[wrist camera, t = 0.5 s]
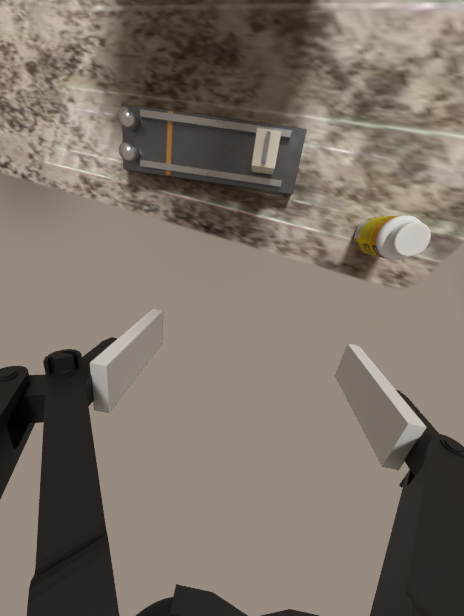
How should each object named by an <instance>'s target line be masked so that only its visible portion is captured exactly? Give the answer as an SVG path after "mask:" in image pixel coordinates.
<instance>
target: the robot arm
mask: <svg viewBox="0 0 464 616" xmlns="http://www.w3.org/2000/svg"><path fill="white" fill-rule="evenodd" d="M162 329H163V310H159V309H152V310H150V311H149V312H148V313H147V314H146V315H145V316H144V317H142V318H141V319H140V320H139V321H138V322H137V323H135V324H134V325H133V326H132V327H131V328H130V329H128V330H127V331H126V332H125V333H124V334H123V335H121V336H120V337H119V338H118V339H117V338H109V339H107V340H104V341H102V342H101V343H100V344H99V345H97V346H96V347H95V348H94V349H92V350H91V351H90V352H88V353H87V354H86V355H85V356H83V357H82V356H81V353H80V352H79V351H77V350H72V349H67V350H61V351H56V352H54V353H52V354H50V355H48V356H47V357H45V359H44V361H43V362H44V368H45V373H46V375H29V374H28V370H27V368H26V367H23V366H11V367H5V368H1V369H0V499H1V496H2V494H3V492H4V490H5V488H6V485H7V483H8V481H9V479H10V477H11V475H12V473H13V470H14V468H15V466H16V464H17V462H18V459H19V457H20V455H21V453H22V451H23V448H24V446H25V444H26V442H27V440H28V438H29V435H30V433H31V431H32V429H33V427H34V424H35V423H39V422H44V428H43V429H44V430H43V446H42V465H41V482H40V500H39V501H40V502H39V517H38V536H37V553H36V569H35V574H34V577H33V578H32V580H31V584H30V588H29V597H28V607H27V616H119V611H118V604H117V597H116V590H115V583H114V577H113V569H112V562H111V556H110V549H109V542H108V536H107V532H106V526H105V519H104V513H103V505H102V498H101V491H100V485H99V477H98V470H97V463H96V456H95V449H94V443H93V435H92V428H91V422H90V415H89V408H88V406H89V405H90V404H91V403H92V402H93V403H94V410H97V411H102V412H107V413H110V412H111V410H112V409H113V408H114V406H115V405H116V404H117V402H118V401H119V400H120V398H121V397H122V396H123V394H124V393H125V392H126V390H127V389H128V388H129V386H130V385H131V384H132V382H133V381H134V380H135V378H136V377H137V376H138V375H139V373H140V372H141V371H142V369H143V368H144V367H145V365H146V364H147V363H148V361H149V360H150V359H151V357H152V356H153V355H154V353H155V352H156V350H157V349H158V348H159V347H160V345H161V344H162ZM335 377H336V379H337V381H338V382H339V385H340V386H341V388H342V390H343V392H344V394H345V396H346V398H347V400H348V402H349V404H350V406H351V408H352V410H353V412H354V414H355V415H356V417H357V419H358V421H359V423H360V425H361V427H362V429H363V431H364V433H365V435H366V437H367V438H368V440H369V442H370V444H371V446H372V448H373V450H374V452H375V454H376V456H377V458H378V460H379V462H380V464H381V465H382V467H386V468H391V469H396V470H399V469H400V467H401V466H402V464H403V463H404V461H405V462H406V464H407V465H408V467H409V469H410V470H409V472H408V473H407V474H406V476H405V478H404V479H403V480H402V482H401V483H400V486H401V487H403V489H402V493H401V497H400V501H399V505H398V509H397V513H396V517H395V520H394V524H393V528H392V532H391V536H390V540H389V544H388V548H387V551H386V556H385V559H384V563H383V567H382V571H381V575H380V579H379V582H378V586H377V590H376V594H375V598H374V602H373V606H372V610H371V614H370V616H464V447H463V446H462V445H461V444H460V443H458V442H456V441H455V440H453V439H452V438H450V437H447V436H445V435H441V434H439V433H438V432H437V431H436V430H435V428H434V427H433V426H432V425H431V424H430V423H429V422H428V420H427V419H426V418H425V417H424V416H423V415H422V414H421V413H420V411H419V410H418V409H417V408H416V407H414V404H413V403H412V402H411V401H410V400H409V399H408V398H407V397H406V396H405V395H404V394H402V393H401V392H400V391H399V390H395V389H394V388H393V386H392V385H391V384H390V383H389V382H388V380H387V379H386V378H385V377H384V375H383V374H382V373H381V372H380V371H379V370H378V368H377V367H376V366H375V365H374V364H373V362H372V361H371V360H370V359H369V358H368V356H367V355H366V354H365V353H364V352H363V350H362V349H361V348H360V347H359V346H357V345H351V344H347V347H346V349H345V352H344V355H343V357H342V360H341V362H340V364H339V367H338V369H337V372H336V375H335ZM136 616H247V615H246V614H244V613H243V612H241V611H240V610H238V609H237V608H235V607H234V606H232V605H231V604H229V603H228V602H226V601H225V600H223V599H222V598H220V597H219V596H217V595H216V594H214V593H213V592H209V591H204V590H199V589H195V588H190V587H186V586H180V585H176V588H175V593H174V597H171V598H166V599H163V600H160V601H158V602H155V603H153V604H152V605H150V606H148V607H147V608H145V609H144V610H142V611H141V612H140V613H139V614H137V615H136ZM262 616H318V615H314V614H309V613H305V612H300V611H296V610H291V609H289V610H284V611H280V612H275V613H271V614H266V615H262Z"/></svg>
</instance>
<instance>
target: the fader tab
mask: <svg viewBox="0 0 464 616" xmlns="http://www.w3.org/2000/svg"><path fill="white" fill-rule="evenodd" d="M280 137H281V131H277V130H270V129H263V128H257V133H256V139H255V146H254V152H253V159H252V172H255V173H262V174H269V175H272V174H273V172H274V169H275V164H276V158H277V153H278V148H279V142H280Z"/></svg>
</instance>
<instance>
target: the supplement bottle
mask: <svg viewBox="0 0 464 616" xmlns="http://www.w3.org/2000/svg"><path fill="white" fill-rule="evenodd" d="M430 236H431V235H430V230H429V228H428V227H427V226H426V225H425V224H423V223H421V222H420V221H419V220H418V219H417V218H415V217H412V216H387V217H374V218H370V219H367V220H366V221H364V222H363V223H362V224H361V225H360V226H359V227H358V228H357V230H356V232H355V237H354V241H355V245H356V247H357V248H358V249H359V250H360V251H362V252H364V253H367V254H371V255H375V256H378V257H382V258H386V259H390V260H400V259H404V258H407V257H409V256H414V255H417V254H419V253H420V252H422V251H423V250H424V249H425V248H426V247H427V245H428V243H429V241H430Z"/></svg>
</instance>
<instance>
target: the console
mask: <svg viewBox="0 0 464 616" xmlns="http://www.w3.org/2000/svg"><path fill="white" fill-rule="evenodd" d="M118 119H119V121H120V122H121V123H122V128H123V143H122V144H121V145H120V146H119V153H120V155H121V157H122V158H123V168H124V169H125V170H127V171H130V172H135V173H142V174H148V175H155V176H162V177H169V178H175V179H182V180H189V181H195V182H202V183H209V184H216V185H222V186H229V187H236V188H242V189H249V190H256V191H263V192H269V193H276V194H283V195H290V196H291V195H292V194H293V190H294V186H295V181H296V176H297V172H298V167H299V162H300V158H301V153H302V148H303V144H304V139H305V135H306V130H307V129H301V128H294V127H286V126H279V125H272V124H265V123H258V122H250V121H243V120H236V119H229V118H221V117H214V116H207V115H200V114H192V113H185V112H178V111H171V110H163V109H156V108H149V107H142V106H134V105H127V104H122V108H120V109H119V111H118ZM257 128H263V129H270V130H277V131H281V137H280V142H279V148H278V153H277V158H276V164H275V169H274V172H273V174H272V175H269V174H262V173H255V172H252V159H253V152H254V146H255V139H256V133H257Z"/></svg>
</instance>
